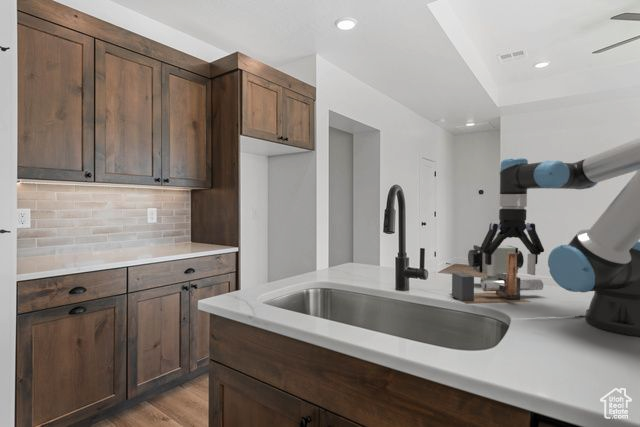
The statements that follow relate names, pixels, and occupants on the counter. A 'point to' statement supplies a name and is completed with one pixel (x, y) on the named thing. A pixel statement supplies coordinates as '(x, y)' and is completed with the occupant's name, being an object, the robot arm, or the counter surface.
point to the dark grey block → (463, 286)
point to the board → (490, 299)
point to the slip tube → (511, 280)
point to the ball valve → (478, 260)
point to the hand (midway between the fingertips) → (511, 274)
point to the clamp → (503, 293)
